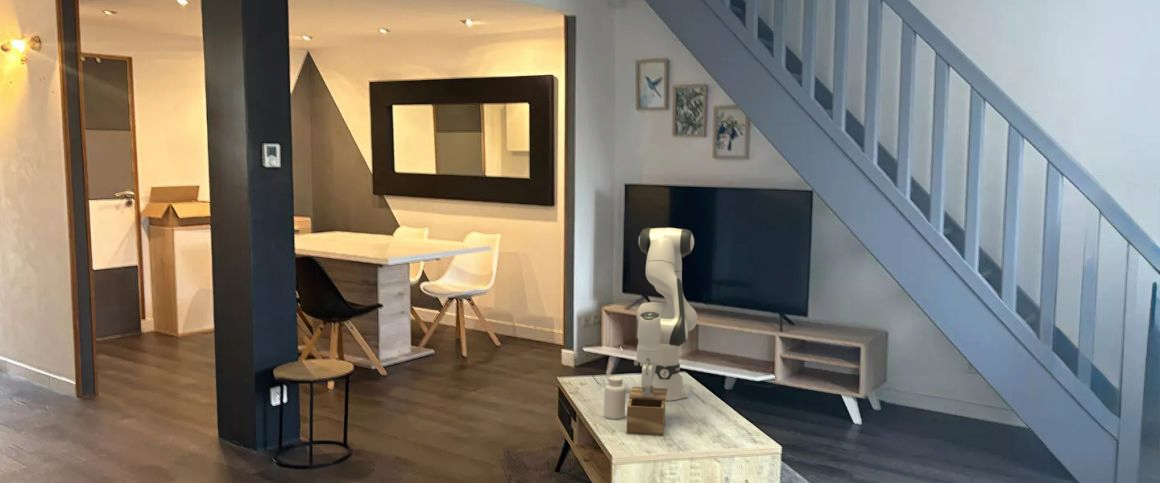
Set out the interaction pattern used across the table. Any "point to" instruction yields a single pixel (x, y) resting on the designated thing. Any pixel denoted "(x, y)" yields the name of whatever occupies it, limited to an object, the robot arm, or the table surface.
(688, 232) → the robot arm
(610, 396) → the pill bottle
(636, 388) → the lid
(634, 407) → the carton
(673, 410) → the table surface
